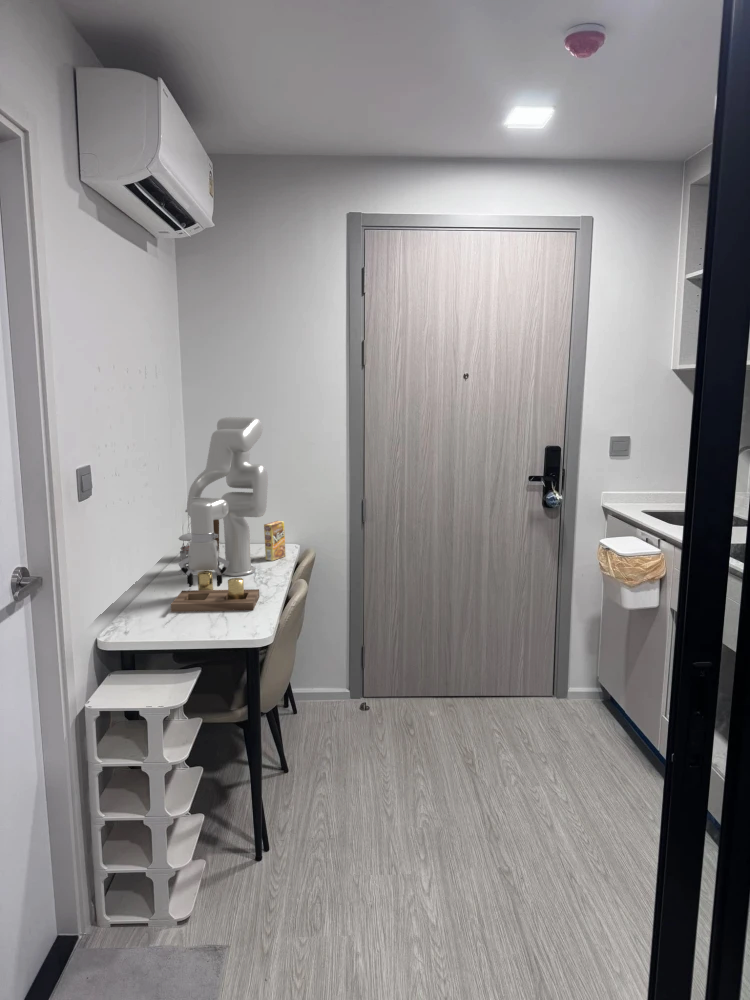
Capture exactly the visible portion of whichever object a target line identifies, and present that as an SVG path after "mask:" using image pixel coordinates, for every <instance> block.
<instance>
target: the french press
mask: <svg viewBox="0 0 750 1000" xmlns="http://www.w3.org/2000/svg"><path fill="white" fill-rule="evenodd" d="M184 512H185V513H188V512H187V508H186V509H185V511H184ZM189 518H190V516H187V521H188V522H187V523H188V528H190V520H189ZM178 540H179V541H182V542H189V543H186V545H185V543H182V545H181V547H180V551H179V555H180V556H179V558H180V561H179V562H181V561H183V560H185V559H187V558H188V554H189V544H190V541H192V539H191V532H188V533H183V534H182V535H180V536H179V537H178ZM184 566H185V567H186V568H187V569H188V570H189V566H188V562H187V563H185V564H184ZM200 571H205V570H193V571H192V572H191V573H192V574H194V575H197V573H198V572H200ZM178 572H179V573H180V574H179V573H178V574H179V575H182V574H183V576H186V574H185V573H184V572H183V571H182V570H181V569H179V571H178Z"/></svg>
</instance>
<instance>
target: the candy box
mask: <svg viewBox="0 0 750 1000" xmlns="http://www.w3.org/2000/svg"><path fill="white" fill-rule="evenodd" d="M263 529H264V531H263V532H264V552H265V554H264V555H265V560H266V561H271V562H273V561H276V560H278V559H282V558H286V554H287V553H286V536H285V535H286V533H285V521H282V520H281V521H280V520H275V521H272V522H268V523H264V524H263Z"/></svg>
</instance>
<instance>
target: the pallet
mask: <svg viewBox="0 0 750 1000" xmlns="http://www.w3.org/2000/svg"><path fill="white" fill-rule="evenodd" d="M259 598H260V588H259V589H258V588H256V589H254V588H253V589H244V599H237V600H229V594H228V589H213V590H198V589H197V590H192V589H191V590H181V591H180V593H179V594H178V595H177V596H176V597H175V599H174V600H173V601H172V602H171V603H170V611H171V613H174V612H175V613H177V612H183V613H184V612H185V613H186V612H187V613H188V612H234V611H236V612H238V611H243V612H245V611H254V610H255V607H256V606H257V604H258V601H259Z"/></svg>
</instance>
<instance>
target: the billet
mask: <svg viewBox="0 0 750 1000" xmlns="http://www.w3.org/2000/svg"><path fill="white" fill-rule="evenodd" d="M196 575H197V590H214V581H213V579H214V578H213V576H214V575H213V570H204V571H200V572H198V573H197V574H196Z"/></svg>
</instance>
